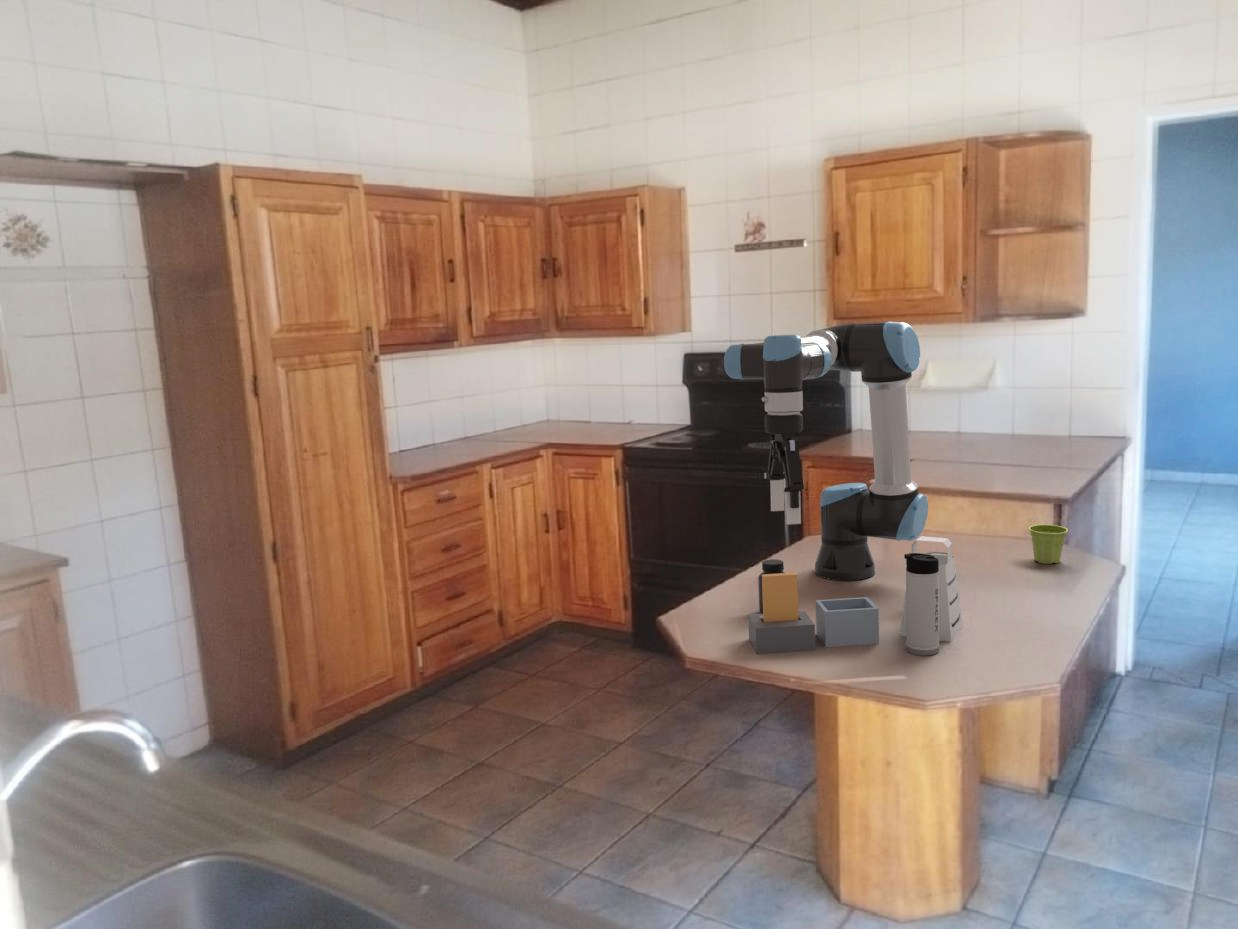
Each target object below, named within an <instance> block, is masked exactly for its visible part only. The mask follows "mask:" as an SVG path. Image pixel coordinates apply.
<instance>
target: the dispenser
mask: <svg viewBox="0 0 1238 929" xmlns="http://www.w3.org/2000/svg"><path fill="white" fill-rule="evenodd" d="M747 615H748V616H747V617H748V618H747V621H748V623H747V624H748V640H749V642H750V645H751V646H752V649H753V650H754V652H755V654H756V655H767V654H781V653H798V652H809V651H810V652H811V651H816V623H815V622H814V621H813V620H812V619H811V617H810V615H809V614H807V613H806V611H805V610H800V611H799V610H798V620H793V621H777V622H763V614H761V613H754V614H753V613H752V614H747Z"/></svg>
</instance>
